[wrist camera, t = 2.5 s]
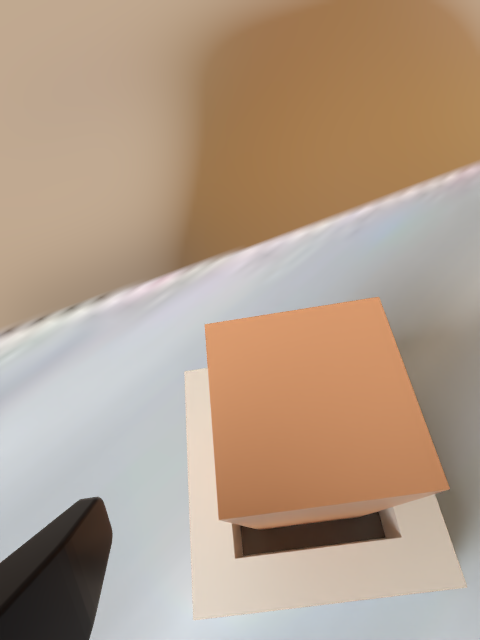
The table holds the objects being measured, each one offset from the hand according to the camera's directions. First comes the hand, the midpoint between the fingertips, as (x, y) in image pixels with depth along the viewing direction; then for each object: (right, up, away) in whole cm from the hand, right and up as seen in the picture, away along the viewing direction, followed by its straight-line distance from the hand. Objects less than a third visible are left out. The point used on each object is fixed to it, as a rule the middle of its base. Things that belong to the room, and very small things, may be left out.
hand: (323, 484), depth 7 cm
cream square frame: (+1, -3, +9) cm, 9 cm away
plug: (+1, -3, +9) cm, 9 cm away
